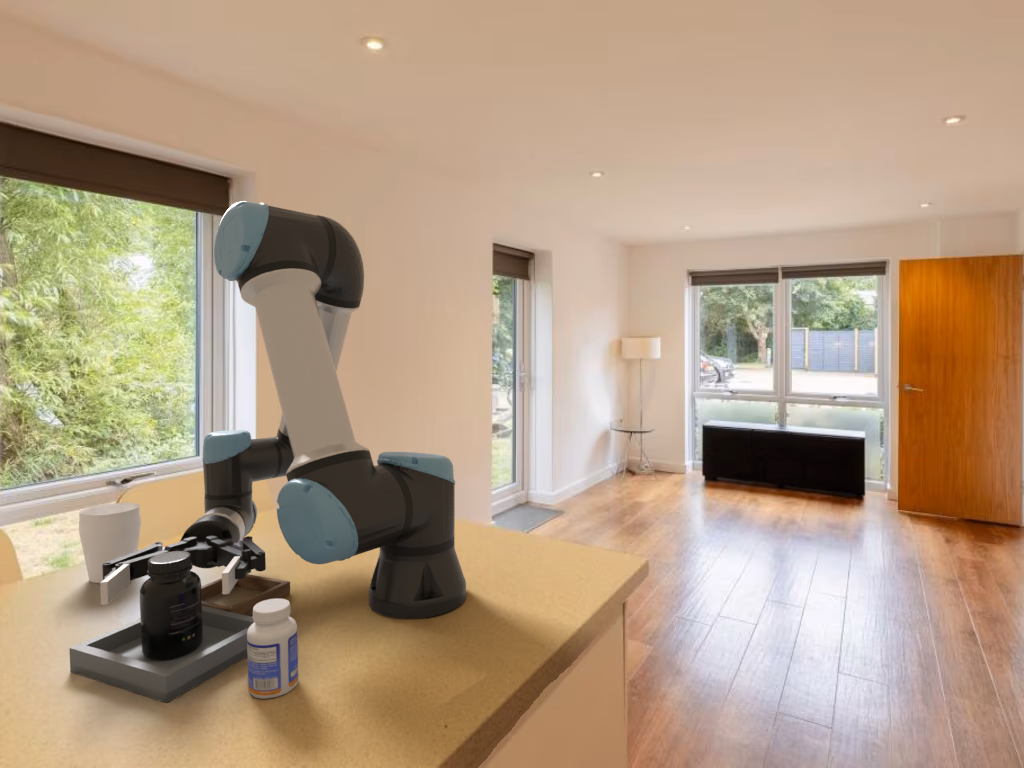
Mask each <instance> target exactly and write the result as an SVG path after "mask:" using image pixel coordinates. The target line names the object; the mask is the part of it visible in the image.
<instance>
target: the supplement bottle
mask: <svg viewBox="0 0 1024 768" xmlns="http://www.w3.org/2000/svg"><path fill="white" fill-rule="evenodd" d="M192 569H193V566H192V560H191V553H189V552H186V551H172V552H166V553H161V554H158V555H155V556H153V557H151V558H150V559H149V560H148V575H147V576H148V577H149V578H148V579H146V580H145V581H144V582H143V583H142V585H141V587H140V588H139V612H140V613H139V614H140V618H141V641H142V653H143V655H144V656H145V657H146V658H148V659H150V660H155V661H164V660H171V659H175V658H179V657H182V656H185V655H187V654H189V653H191V652H193V651H194V650H196V649H197V648H198V647H199V646H200V644H201V643H202V640H203V625H202V595H201V587H202V579H201V577H200V576H199V575H198V574H197V573H196V572H195V571H192Z"/></svg>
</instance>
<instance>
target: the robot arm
mask: <svg viewBox="0 0 1024 768" xmlns="http://www.w3.org/2000/svg"><path fill="white" fill-rule="evenodd" d="M213 256H214V259H213V260H214V265H215V269H216V272H217V273H218V275H219V276H221V277H222V278H223V279H225V280H228V282H229V281H230V282H235V281H236V283H237V285H238V289H239V293H240V297H241V299H242V300H243V301H244V303H247V304H248V305H251V306H253V307H254V309H255V311H256V315H257V319H258V320H257V321H258V323H259V326H260V330H261V335H262V338H263V342H264V346H265V351H266V354H267V358H268V362H269V365H270V370H271V373H272V374H271V375H272V378H273V382H274V386H275V389H276V392H277V396H278V401H279V404H280V408H281V412H282V413H281V417H280V422H279V426H278V430H277V434H276V436H272V437H265V438H263V437H262V438H254V439H253V438H252V436H251V433H250V432H249V431H248V430H246V429H245V430H244V429H230V430H219V431H218V430H217V431H212V432H209V433H208V434H206V435H205V437H204V439H203V446H202V458H201V459H202V465H203V466H202V467H203V468H202V469H203V480H204V481H203V482H204V484H203V485H204V497H203V498H204V514H202V515H201V516H200V517H198V518H197V520H195V522H193V523H192V524H191V525H190V526H189V527H188V528H187V529H185V531H184V532H183V535H182V536H181V539H180V541H178V542H174V543H171V544H167V545H166V546H163V542H162V541H156V542H153V543H151V544H150V545H148V546H146V547H144V548H140V549H138V551H135V552H133V553H130V554H127V555H124V556H122V557H119V558H116V559H114V560H111V561H108V562H106V563H103V564H102V569H103V581H102V582H100V583H99V585H100V604H101V605H108V604H110V603H111V602H112V601H113V600H114V599H115V598H117V596H119V595H120V594H121V593H122V592H124V590H126V589H127V588H128V587H129V586H130V585H131V581H134V580H137V579H140V578H142V577H147V576H148V560H149V559H150V558H151V557H153V556H155V555H158V554H161V553H166V552H172V551H186V552H189V553H191V560H192V567H193V566H194V567H196V568H200V569H212V568H216V567H217V568H220V567H224V568H225V569H223V571H222V572H221V578H222V593H221V594H222V595H230V593H231V592H232V590H233V589H234V588H235V587H234V585H235V584H236V582H237V581H238V579H243V578H245V577H246V575H247V574H251V573H252V570H255V571H256V572H264V571H266V570H267V569H266V568H267V567H266V566H267V565H266V561H267V560H266V551H265V550H263V549H262V547H260V546H259V545H257V544H256V543H255V542H254V540H253V536H250V535H248V534H249V533H250V532H251V531H252V530H253V528H254V525H255V524H256V521H257V517H258V508H257V505H256V503H255V501H253V483H254V482H259V481H267V480H272V479H275V478H276V479H277V478H282V477H286V479H287V483H285V484H284V485H283V486H282V487H281V489H280V490H279V493H278V494H277V499H276V503H277V505H278V506H277V507H276V516H277V522H278V525H279V528H280V532H281V534H282V536H283V538H284V540H285V542H286V543H287V545H288V547H289V548H290V549H291V550H292V551H293V552H294V554H296V555H297V556H299V558H301V559H302V560H303V561H305V562H306V563H310V564H313V565H314V564H315V565H326V564H330V563H334V562H337V561H338V562H342V561H343V562H344V561H345V560H349V559H351V558H352V557H354V556H357V555H361V554H363V553H366V552H369V551H373V550H376V549H379V554H378V557H377V561H376V563H375V564H376V565H375V567H374V570H373V574H372V577H371V580H370V584H369V586H368V604H369V607H370V608H371V610H373V611H374V612H376V613H378V614H380V615H382V616H385V617H390V618H395V619H407V620H408V619H425V618H430V617H436V616H441V615H443V614H447V613H449V612H451V611H453V610H455V609H457V608H459V607H460V606H461V605H462V604H464V602H465V601H466V598H467V581H466V578H465V576H464V572H463V570H462V569H463V568H462V567H461V563H460V561H459V557H458V555H457V551H456V547H455V543H456V542H455V485H456V481H455V478H454V477H455V475H454V465H453V462H452V461H451V459H450V458H449V457H447V456H445V455H442V454H441V455H440V454H434V453H424V452H423V453H422V452H411V451H384V452H381V453H380V454H379V455H378V456H377V457H378V458H377V459H376V463H377V465H374V462H373V458H372V455H371V451H370V449H369V448H368V447H366V446H364V445H362V444H360V443H358V442H357V441H356V438H355V434H354V432H353V428H352V424H351V420H350V417H349V413H348V410H347V406H346V402H345V400H344V395H343V392H342V388H341V385H340V381H339V378H338V374H337V371H338V367H339V363H340V358H341V355H342V351H343V348H344V344H345V339H346V336H347V332H348V329H349V325H350V320H351V317H352V313H353V312H354V311H357V310H358V309H359V308H360V307H361V301H362V298H363V293H364V289H365V288H364V287H365V270H364V261H363V257H362V254H361V252H360V248H359V246H358V244H357V242H356V240H355V239H354V237H353V235H352V234H351V233H350V232H349V231H348V229H346V228H345V226H343V225H342V224H340V223H339V222H338V221H336V220H334V219H332V218H330V217H327V216H323V215H317V214H316V215H315V214H312V213H306V212H302V211H296V210H292V209H287V208H282V207H278V206H272V205H268V204H267V203H266V202H259V203H258V202H251V201H245V200H243V201H238V202H235V203H233V204H232V205H231V206H230V207H229V208H228V209H227V210H226V211H225V213H224V214H223V216H222V218H221V220H220V222H219V225H218V228H217V231H216V235H215V240H214V249H213ZM247 535H248V536H247ZM233 587H234V588H233Z"/></svg>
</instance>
